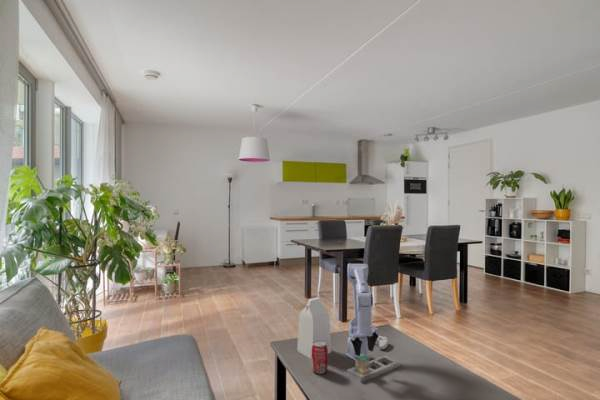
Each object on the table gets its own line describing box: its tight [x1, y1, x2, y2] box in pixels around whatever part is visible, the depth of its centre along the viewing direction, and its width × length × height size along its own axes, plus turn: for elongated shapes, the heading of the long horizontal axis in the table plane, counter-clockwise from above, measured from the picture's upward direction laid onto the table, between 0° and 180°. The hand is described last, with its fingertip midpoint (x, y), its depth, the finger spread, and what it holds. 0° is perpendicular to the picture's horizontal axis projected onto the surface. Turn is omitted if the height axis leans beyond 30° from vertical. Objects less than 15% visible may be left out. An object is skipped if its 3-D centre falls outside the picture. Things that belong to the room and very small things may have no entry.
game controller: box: [367, 334, 389, 350], centre depth 176 cm, size 14×4×10 cm
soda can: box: [310, 341, 329, 375], centre depth 149 cm, size 7×7×12 cm
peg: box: [355, 354, 371, 375], centre depth 145 cm, size 4×4×8 cm
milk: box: [296, 297, 332, 360], centre depth 167 cm, size 12×12×26 cm
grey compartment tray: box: [346, 354, 400, 384], centre depth 149 cm, size 8×24×2 cm, turn 124°
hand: (364, 352), depth 146 cm, fingers open, 7 cm apart
